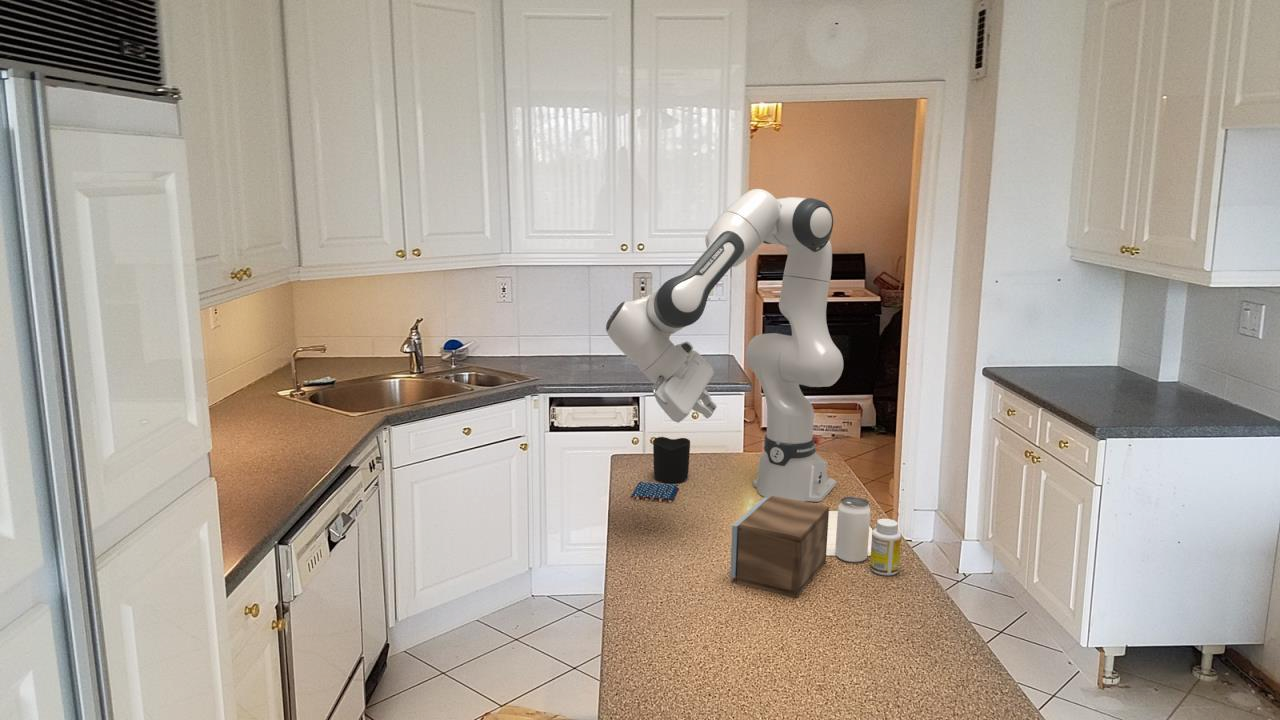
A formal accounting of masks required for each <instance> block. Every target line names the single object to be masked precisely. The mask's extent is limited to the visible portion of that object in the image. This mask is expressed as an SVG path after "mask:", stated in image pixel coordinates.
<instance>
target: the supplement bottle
mask: <svg viewBox="0 0 1280 720" xmlns="http://www.w3.org/2000/svg"><path fill="white" fill-rule="evenodd" d="M898 526H899V523H898V522H897V521H896V520H894V519H892V518H891V519H890V518H879V519H877V520H876V528H874V529H873V530H872V532H871V543H870V544H871V547H870V560H869V568H870V570H871V571H872V573H873V572H874V573H875V574H878V575H880V576H894V575H896V574H898V572H899V570H900V557H901V545H902V543H901V542H902V534H901V532H900V530H898V529H899V527H898Z"/></svg>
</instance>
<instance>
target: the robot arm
mask: <svg viewBox="0 0 1280 720" xmlns="http://www.w3.org/2000/svg"><path fill="white" fill-rule="evenodd" d="M830 207H831V206H829V204H828V203H826V202H825V201H823V200H820V199H817V198H814V197H807V198H805V197H796V196H788V197H784V198H783V197H782V198H776V197H775V196H774V195H773V194H772V193H770V192H769V191H767V190H765V189H761V188H754V189H751V190H748V191H747V192H746V193H744V194H743V195H741V196H740V197H739V198H737V199H736V200H735V201H734V202H733V203H731V205H729V206H728V207H727V208H726V209H725V210H724V211H723V212H722V213H721V214H720V215H719V217H717V219H716V220H715V222H714V223H713V224H712V226H711V227H710V229H709V230H708V232H707V234H706V236H705V241H704V242H705V246H706V250H705V251H704V252H703V253H702V254H701V256H699V257H698V259H697V260H696V261H695V262H694V263H693V264H692V265H691V266H690V268H689V269H688V270H687V271H685V273H682V274H680V275H676V276H674V277H672V278H670V279H668V280H666V281H665V282H664V283H663V284H662V285H661V286H660V288H659V289H657V290H656V291H655V292H654V293H653V292H652V293H651V294H649V295H646V296H644V297H641V298H638V299H635V300H630V301H629V300H628V301H626V300H625V301H622V302H621V303H620V304H619V305H618V306H617V307H616V308H615V309H614V310H613V312H612V313H611V314H610V316H609V318H608V320H607V322H606V325H605V331H606V333H607V335H608V337H609V339H610V340H611V341H612V342H613V343H614V344H615V345H616V347H617V348H619V350H620V351H621V352H622V353H623V354H624V355H625V356H626V357H627V358H628V359H629V360H631V361H633V362H634V363H635V364H636V365H637V366H638V369H639V370H640V371H641V372H642V373H643V375H645V376H646V378H648V379H649V380H650V381H651V382H652V384H653V385H652V387H651V388H652V391H653V392H652V393H653V396H654V398H655V400H656V402H657V404H658V405H659V406H660V408H661V409H662V410H663V411H664V413H665V414H666V415H667V416H668V417H669V418H670V419H671V420H672V421H673V422H675V423H681V422H682V421H683V420H684V419H686V418H687V417H688V416H689V415H690V413H691V411H692V410H693V411H694V412H697V413H699V414H702V415H703V417H704V418H705V419H709V418H711V417H712V416H713V414H714V411H716V409H717V407H718V406H717V404H716V403H715V402H714V400H712V398H711V397H712V396H711V395H710V393H709V391H708V390H707V389H706V388H707V386H708V384H709V383H710V381H711V379H712V378H713V377H714V375H715V371H714V369H713V367H712V365H710V363H709V362H708V361H707V360H706V359H705V358H704V357H703V356H702V355H701V354H700V353H699V352H698V351H696V350H694V346H693V345H692V344H691V343H690V342H689V341H684V342H681V343H679V344H676V345H675V344H674V343H673V342H672V341H671V340H670V337H671V336H672V335H673V334H676V333H677V332H679V331H680V330H682V329H683V328H686V327H688V326H691V325H693V324H695V323H696V322H697V321H698V320H699V319H700V318H701V317H702V316H703V313H704V311H705V309H706V307H707V306H706V305H707V301H708V299H709V295H710V294H711V292H712V290H713V289H714V288H715V287H716V285H718V283H719V282H720V281H721V280H722V278H723V277H724V276H725V275H726V274H727V272H728V271H729V270H730V269H732V268H734V267H738V266H739V265H740V264H742V263H743V262H744V261H746V260H747V259H749V257H751V256H752V255H753V254H754V253H755V252H756V251H757V249H759V247H760V246H761V245H762V244H767V245H776V246H777V245H778V246H783V247H785V249H786V252H787V253H786V254H787V258H786V261H785V267H784V271H783V276H782V282H781V288H780V295H779V302H778V308H779V312H780V313H781V314H782V315H783V316H784V318H786V319H787V320H788V322H789V325H790V329H791V335H790V334H789V335H788V334H784V333H783V334H782V333H777V332H774V333H773V332H771V333H760V334H756V335H755V336H754V337H752V338H751V340H750V341H749V343H748V344H747V347H746V351H745V357H746V358H745V360H746V363H747V365H748V368H749V369H750V370H751V371H752V372H753V373H754V374H755V376H756V378H757V379H758V381H759V383H760V386H761V389H762V391H763V394H764V398H765V402H766V404H765V405H766V434H765V436H764V440H763V445H764V446H763V451H764V452H763V453H761V455H760V456H759V461H758V469H757V476H756V479H754V480H753V481H752V486H753V487H755V488H756V491H757V494H759V495H760V496H762V497H763V498H764V497H765V498H770V497H771V496H776V497H782V498H787V499H792V500H798V501H803V502H813V503H814V502H819V503H820V502H822V501H823V500H824V499H825V498H826V497H827V496H828V495H829V493H830V492H831V491H832V490H833V489H834V488H836V487H835V486H836V485H837V480H835V479H834V478H832V477H829V476H828V463H827V462H826V460H825V459H823V458H822V457H821V456H820V455H819V453H817V452H816V451H817V450H816V445H819V444H820V442H821V437H820V436H819V435H814V434H813V433H814V432H813V431H814V418H815V411H814V407H813V405H812V403H811V401H810V400H809V399H808V398H807V397H806V396H805V395H804V394H803V391H802V390H801V388H800V385H801V386H805V387H809V388H815V387H816V388H822V387H826V388H827V387H831V386H833V385H834V384H836V383H837V381H838V380H839V379H840V378H841V376H842V373H843V370H844V359H843V358H844V357H843V354H842V352H841V350H840V349H839V348H838V347H837V345H836V344H835V343H834V341H833V340H832V338H831V335H830V332H829V328H828V324H827V305H828V296H829V290H830V284H831V276H832V267H833V246H832V243H831V241H830V238H831V235H832V232H833V229H834V228H833V227H834V216H833V213H832V209H831V208H830Z"/></svg>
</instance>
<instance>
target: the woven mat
mask: <svg viewBox="0 0 1280 720" xmlns="http://www.w3.org/2000/svg"><path fill="white" fill-rule="evenodd" d="M679 490H680V488H679V483H677V484H667V483H662V482H658V483H657V482H649V481H646V482H645V481H640V482H638V483H637V485H636V487H635V489H634V490H633V492H632V494H631V495H630V498H631V501H635V500H636V501H640V502H643V501H645V502H653V501H654V502H656V503H657V502H659V503H664V504H665V503H667V502H668V503H669V504H672V502H674V501H675V498H676V497H677V493H678V491H679Z"/></svg>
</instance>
